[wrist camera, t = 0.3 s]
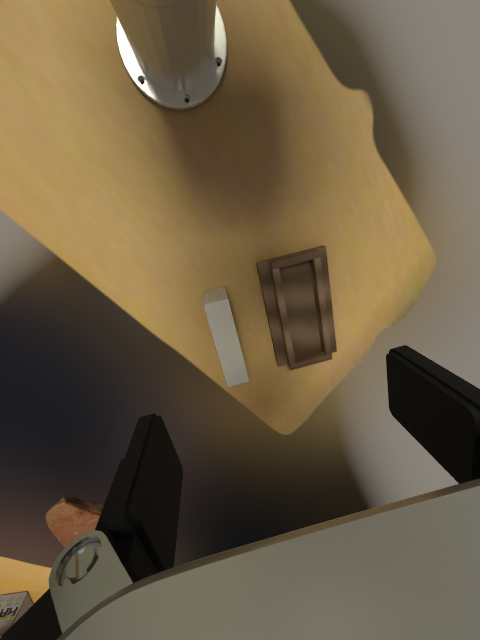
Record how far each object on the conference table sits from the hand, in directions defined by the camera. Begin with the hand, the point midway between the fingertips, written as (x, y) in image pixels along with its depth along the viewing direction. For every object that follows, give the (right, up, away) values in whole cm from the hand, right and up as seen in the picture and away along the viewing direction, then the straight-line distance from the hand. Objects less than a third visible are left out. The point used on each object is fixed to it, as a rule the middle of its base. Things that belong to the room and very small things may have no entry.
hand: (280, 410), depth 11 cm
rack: (+8, +6, +36) cm, 37 cm away
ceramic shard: (-33, -37, +47) cm, 68 cm away
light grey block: (-4, +2, +36) cm, 36 cm away
